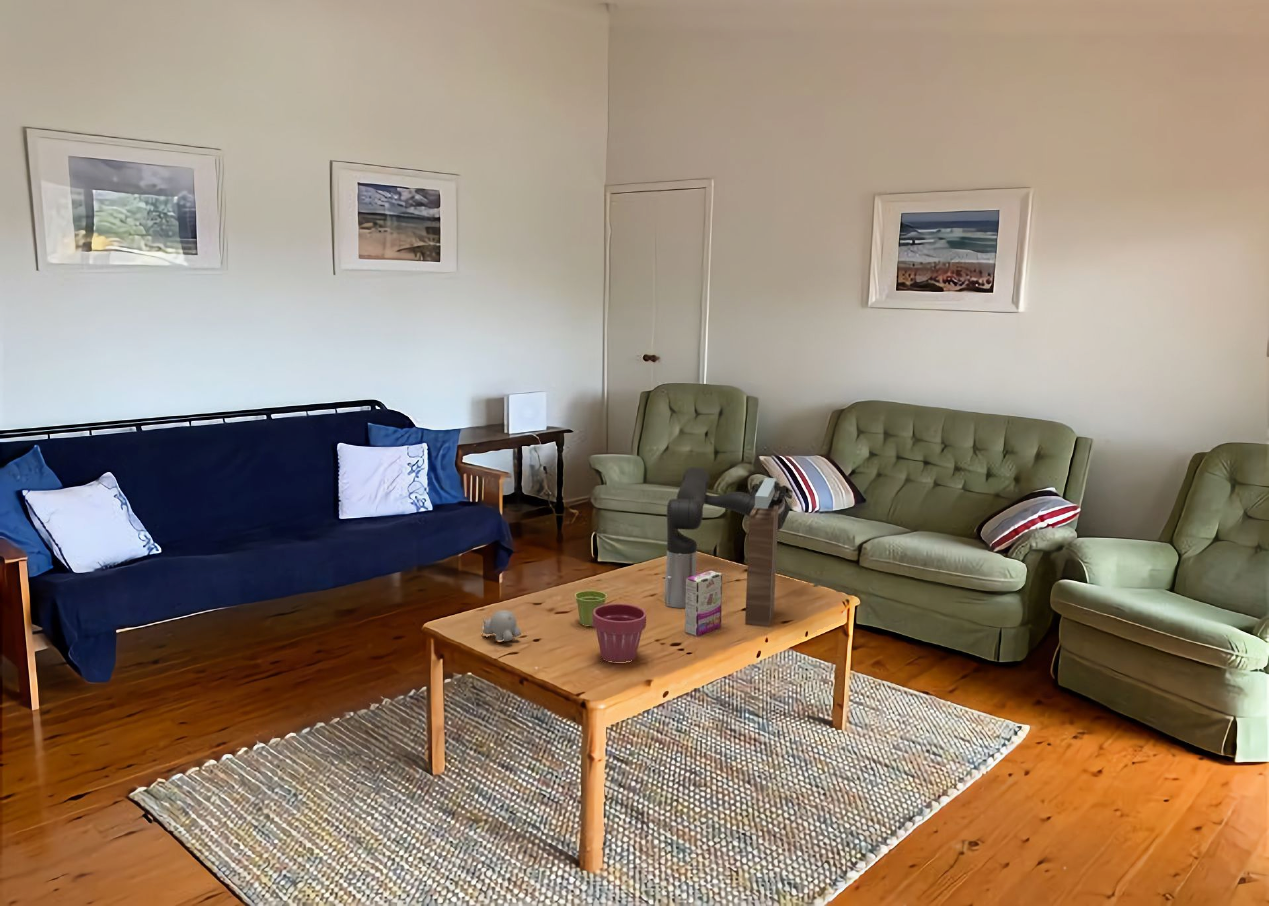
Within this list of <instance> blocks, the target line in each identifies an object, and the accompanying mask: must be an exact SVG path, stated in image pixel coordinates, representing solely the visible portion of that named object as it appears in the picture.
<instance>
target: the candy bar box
mask: <svg viewBox="0 0 1269 906" xmlns="http://www.w3.org/2000/svg"><path fill="white" fill-rule="evenodd" d="M722 587H723V573H721V572H717V571H714V570H706V571H704V572H701V573H697V574H696V575H695V576H692V577H689V578H686V596H685V601H686V604H685V608H684V609H685V610H684V611H685V612H684V613H685V615H684V619H685V620H684V632H685V633H686V634H688V635H691V634H692V635H691V636H695V637H699V636H702V635H704V634H707V633H710V632H712V631H714V630H717V629H719V628H721V627H722V597H723V596H722V595H723V594H722V593H723V588H722Z"/></svg>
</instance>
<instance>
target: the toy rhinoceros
mask: <svg viewBox="0 0 1269 906" xmlns="http://www.w3.org/2000/svg"><path fill="white" fill-rule="evenodd" d="M482 621H483V624H482V626H481V629H482V632H483V633H485V634H492V635H493V633H494V635H495V640H496V639H497V640H503V639H504V642H509V641H511V640H513V639H514V638H517V637H519V636H521V634H522V632H521V629H520V628H519V626H518V625H517V619H516V616H515V615H514V614H513V613H512V612H511V611H510V610H506V609H501V610H497V611H496V612H495V613H494V614H493V615H491V616H490V617H489V619H482ZM483 633H482V634H483Z"/></svg>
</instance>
